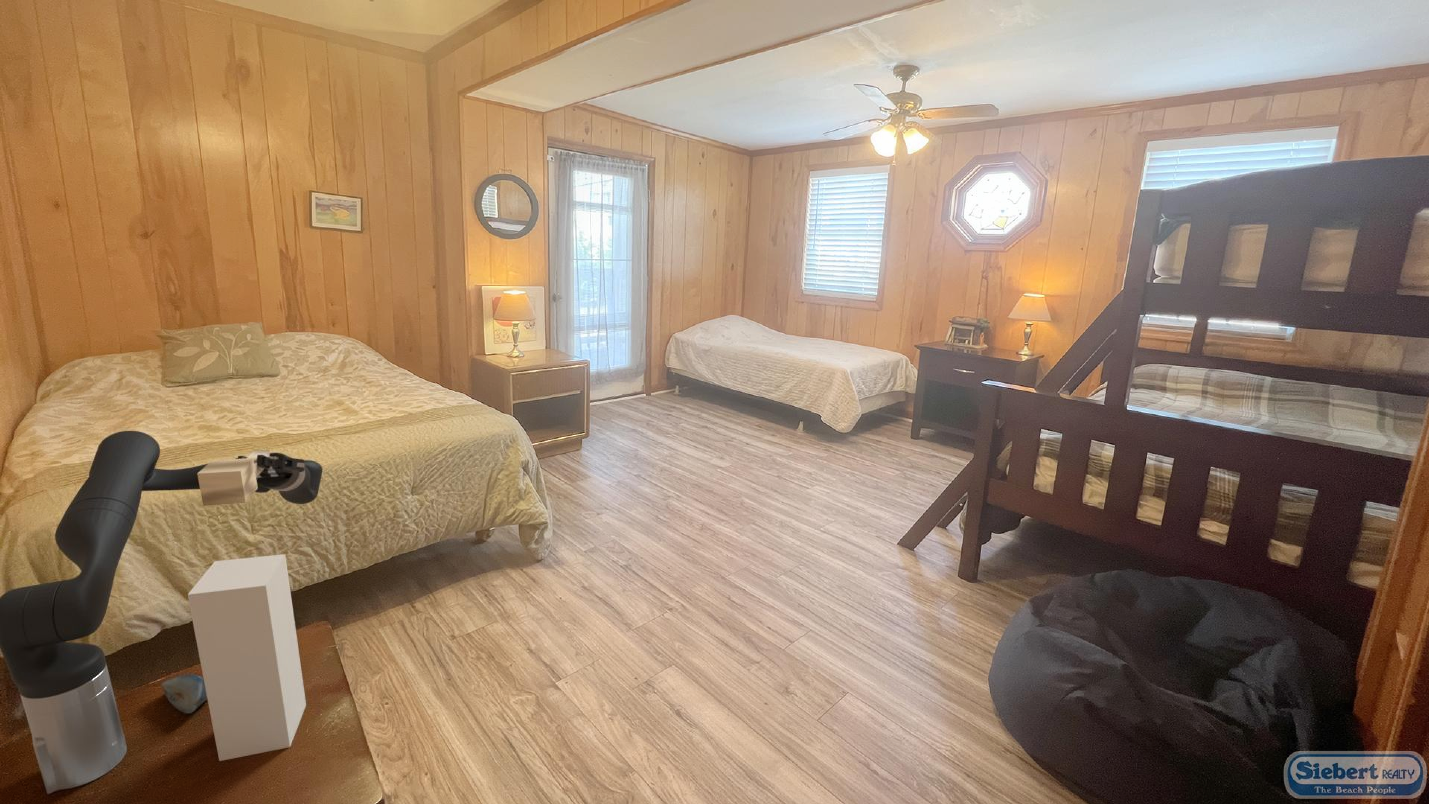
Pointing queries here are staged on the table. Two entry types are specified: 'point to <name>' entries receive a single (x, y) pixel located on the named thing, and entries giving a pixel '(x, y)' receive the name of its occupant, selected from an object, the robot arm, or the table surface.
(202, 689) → the blue rounded lump
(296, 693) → the stand
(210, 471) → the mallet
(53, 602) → the robot arm
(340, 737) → the table surface
